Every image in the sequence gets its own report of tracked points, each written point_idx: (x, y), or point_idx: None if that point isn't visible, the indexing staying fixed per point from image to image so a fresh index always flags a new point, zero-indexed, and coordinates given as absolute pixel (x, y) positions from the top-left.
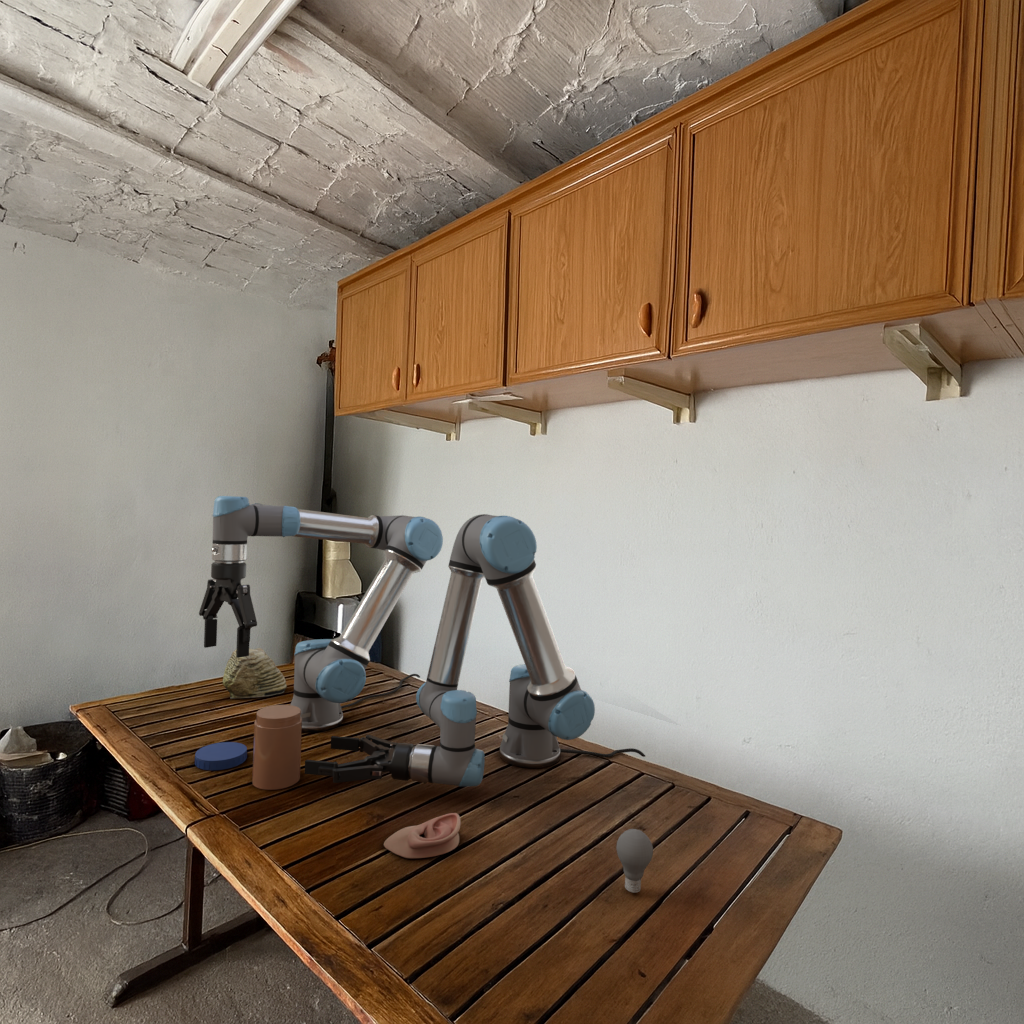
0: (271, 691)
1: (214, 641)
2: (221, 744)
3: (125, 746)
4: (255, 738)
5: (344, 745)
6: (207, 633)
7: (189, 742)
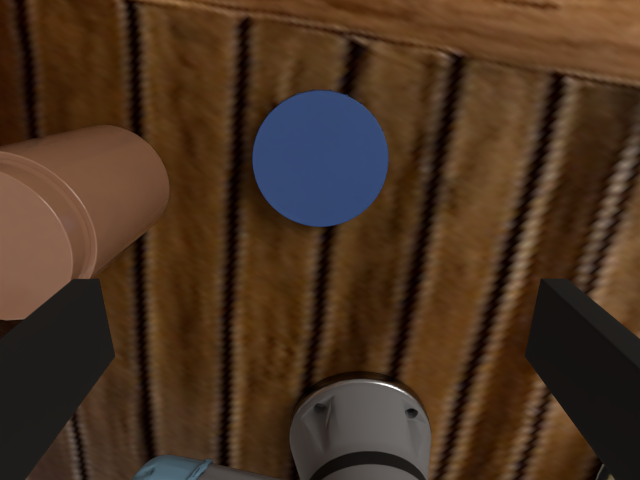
0: (609, 475)
1: (547, 366)
2: (363, 188)
3: (636, 25)
4: (40, 144)
5: None
6: (612, 361)
7: (501, 167)
